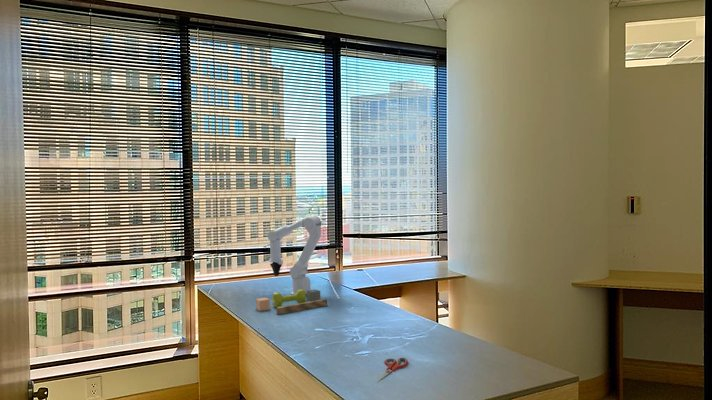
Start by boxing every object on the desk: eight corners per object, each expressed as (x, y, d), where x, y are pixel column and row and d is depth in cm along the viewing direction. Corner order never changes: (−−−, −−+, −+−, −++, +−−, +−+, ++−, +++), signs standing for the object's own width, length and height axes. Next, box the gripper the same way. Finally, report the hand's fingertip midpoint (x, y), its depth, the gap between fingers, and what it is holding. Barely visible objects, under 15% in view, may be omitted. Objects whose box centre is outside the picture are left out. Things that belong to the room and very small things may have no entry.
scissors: (372, 385, 143) (371, 380, 143) (386, 360, 164) (386, 356, 164) (398, 387, 141) (397, 382, 141) (409, 361, 162) (409, 357, 162)
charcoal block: (316, 298, 259) (315, 289, 258) (320, 300, 254) (320, 290, 254) (307, 300, 256) (307, 290, 256) (312, 302, 252) (311, 292, 251)
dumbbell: (302, 301, 253) (302, 287, 253) (307, 304, 246) (307, 290, 246) (271, 306, 247) (270, 291, 246) (275, 309, 239) (275, 294, 239)
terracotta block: (265, 307, 243) (265, 297, 243) (269, 309, 239) (269, 299, 239) (256, 309, 241) (255, 299, 241) (260, 311, 236) (259, 300, 236)
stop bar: (325, 304, 244) (325, 298, 244) (327, 305, 242) (327, 299, 242) (276, 313, 230) (276, 307, 230) (278, 314, 228) (278, 308, 228)
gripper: (263, 251, 282) (264, 275, 282) (274, 253, 270) (275, 278, 270) (275, 250, 286) (276, 273, 286) (285, 252, 273) (286, 276, 274)
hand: (276, 275), depth 278 cm, fingers closed
